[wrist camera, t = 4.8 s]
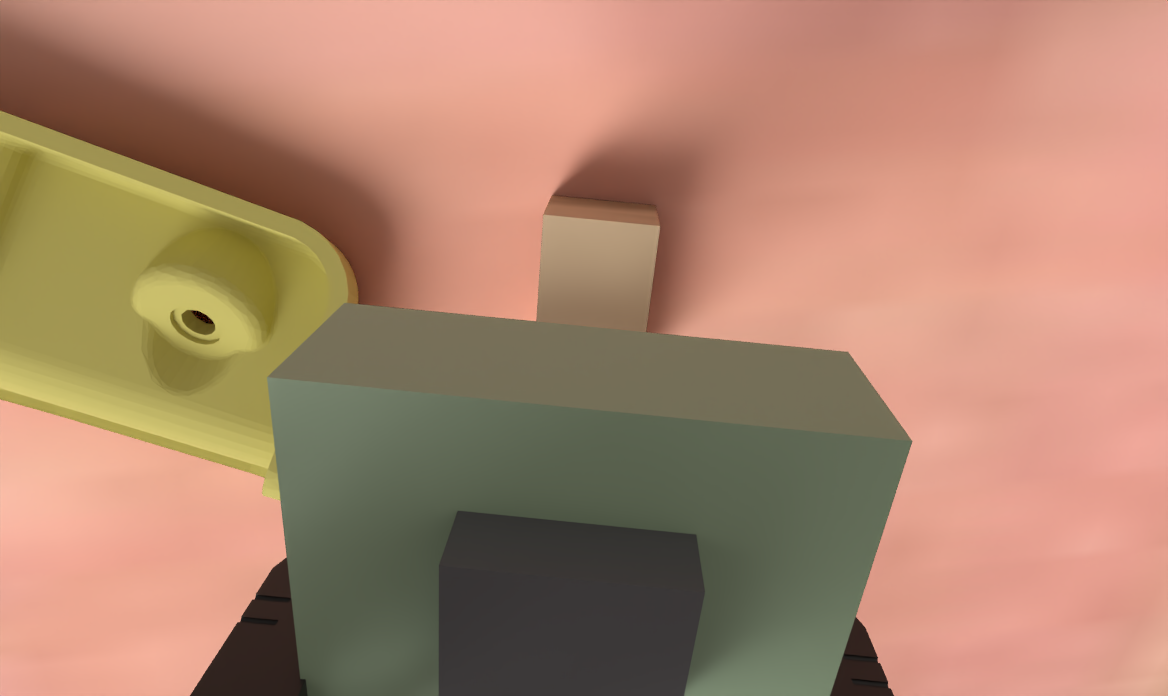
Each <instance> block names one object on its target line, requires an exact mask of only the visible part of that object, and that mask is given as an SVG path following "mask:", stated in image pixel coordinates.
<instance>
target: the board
mask: <svg viewBox="0 0 1168 696" xmlns="http://www.w3.org/2000/svg"><path fill="white" fill-rule="evenodd" d="M267 382H268V391H269V400H270V409H271V418H272V427H273V437H274V446H275V455H276V464H277V473H278V482H279V491H280V500H281V509H282V518H283V527H284V536H285V545H286V554H287V563H288V572H289V581H290V590H291V599H292V608H293V617H294V626H295V635H296V644H297V653H298V662H299V671H300V679H306V686H307V695H308V696H830V694H831V691H832V688H833V685H834V682H835V679H836V676H837V672H838V669H839V666H840V663H841V660H842V657H843V654H844V651H845V648H846V645H847V642H848V638H849V635H850V632H851V629H852V626H853V623H854V620H855V617H856V614H857V611H858V608H859V604H860V601H861V598H862V595H863V592H864V589H865V586H866V583H867V580H868V577H869V574H870V570H871V567H872V564H873V561H874V558H875V555H876V552H877V549H878V546H879V543H880V540H881V536H882V533H883V530H884V527H885V524H886V521H887V518H888V515H889V512H890V509H891V506H892V502H893V499H894V496H895V493H896V490H897V487H898V484H899V481H900V478H901V475H902V472H903V468H904V465H905V462H906V459H907V456H908V453H909V450H910V447H911V444H912V440H911V439H910V437H909V436H908V434H907V433H906V432H905V430H904V429H903V428H902V426H901V425H900V423H899V422H898V421H897V419H896V418H895V416H894V415H893V414H892V412H891V411H890V409H889V408H888V407H887V405H886V404H885V403H884V401H883V400H882V398H881V397H880V396H879V394H878V393H877V391H876V390H875V389H874V387H873V386H872V385H871V383H870V382H869V380H868V379H867V378H866V376H865V375H864V373H863V372H862V371H861V369H860V368H859V366H858V365H857V364H856V362H855V361H854V360H853V358H852V357H851V355H850V354H849V353H848V352H842V351H832V350H822V349H812V348H801V347H791V346H781V345H771V344H761V343H750V342H740V341H730V340H720V339H710V338H699V337H689V336H679V335H669V334H658V333H648V332H638V331H628V330H618V329H607V328H597V327H587V326H577V325H567V324H556V323H546V322H536V321H526V320H516V319H505V318H495V317H485V316H475V315H465V314H454V313H444V312H434V311H424V310H414V309H403V308H393V307H383V306H373V305H362V304H352V303H344V304H343V305H342V306H341V307H339V308H338V309H337V310H336V311H335V312H334V313H333V314H332V315H331V316H330V317H329V318H328V319H327V320H326V321H325V322H324V323H323V324H322V325H321V326H320V327H319V328H318V329H317V330H316V331H315V332H313V333H312V334H311V335H310V336H309V337H308V338H307V339H306V340H305V341H304V342H303V343H302V344H301V345H300V346H299V347H298V348H297V349H296V350H295V351H294V352H293V353H292V354H291V355H290V356H289V357H287V358H286V359H285V360H284V361H283V362H282V363H281V364H280V365H279V366H278V367H277V368H276V369H275V370H274V371H273V372H272V373H271V374H270V375H269V376H268V377H267Z"/></svg>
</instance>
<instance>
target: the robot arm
mask: <svg viewBox="0 0 1168 696" xmlns="http://www.w3.org/2000/svg"><path fill="white" fill-rule="evenodd" d="M877 658H878V657H877V654H876V652H875V650H874V647H873V645H872V642H871V640H870V638H869V635H868V633H867V631H866V628H865V627H864V626H863V625H862V623H861V622H860V621H859V620H858V619H857V618H856V617H855V620H854V623H853V626H852V629H851V632H850V635H849V638H848V642H847V645H846V648H845V651H844V654H843V657H842V660H841V663H840V666H839V669H838V672H837V676H836V679H835V682H834V685H833V688H832V691H831V694H830V696H894V695H893V693H892V690H891V689H890V688H888V681H887V678H886V676H885V674H884V671H883V669H882V666H881V664H880V663H878V661H877ZM190 696H308V695H307V686H306V679H300V671H299V662H298V653H297V644H296V635H295V626H294V617H293V608H292V599H291V590H290V581H289V572H288V563H287V558H285V559H284V560H283V561H281V562H280V563H279V564H278V565H276V566H275V567H274V568H273V569H272V570H271V572H270V573H269V575H268V577H267V578H266V580H265V581H264V583H263V584H262V586H261V587H260V589H259V590H258V592H257V593H256V598H255V600H252V601H251V603H250V604H249V606H248V607H247V609H246V610H245V612H244V613H243V615H242V618H241V621H240V622H238V623H237V624H236V626H235V627H234V629H233V630H232V632H231V633H230V635H229V637H228V638H227V640H226V641H225V643H224V644H223V646H222V647H221V649H220V650H219V652H218V653H217V655H216V657H215V658H214V660H213V661H212V663H211V664H210V666H209V667H208V669H207V670H206V672H205V673H204V675H203V677H202V678H201V680H200V681H199V683H198V684H197V686H196V687H195V689H194V690H193V692H192V693H191V695H190Z"/></svg>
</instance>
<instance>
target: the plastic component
mask: <svg viewBox="0 0 1168 696" xmlns="http://www.w3.org/2000/svg"><path fill="white" fill-rule="evenodd" d="M344 303H352V304H358V287H357V282H356V278H355V275H354V272H353V270H352V268H351V266H350V264H349V262H348V260H347V259H346V258H345V257H344V255H343V254H342V253H341V251H340V250H339V249H338V248H337V247H336V246H335V245H333V244H332V243H331V242H330V241H329V240H327V239H326V238H325V237H324V236H323V235H321V234H320V233H319V232H318V231H316V230H315V229H313V228H311V227H310V226H308V225H307V224H305V223H303V222H302V221H299V220H297V219H294V218H291V217H289V216H286V215H283V214H280V213H278V212H275V211H272V210H269V209H267V208H264V207H261V206H259V205H256V204H253V203H250V202H248V201H245V200H242V199H240V198H237V197H234V196H231V195H229V194H226V193H223V192H221V191H218V190H215V189H212V188H210V187H207V186H204V185H201V184H199V183H196V182H193V181H191V180H188V179H185V178H182V177H180V176H177V175H174V174H172V173H169V172H166V171H163V170H161V169H158V168H155V167H152V166H150V165H147V164H144V163H142V162H139V161H136V160H133V159H131V158H128V157H125V156H123V155H120V154H117V153H114V152H112V151H109V150H106V149H103V148H101V147H98V146H95V145H93V144H90V143H87V142H84V141H82V140H79V139H76V138H74V137H71V136H68V135H65V134H63V133H60V132H57V131H54V130H52V129H49V128H46V127H44V126H41V125H38V124H35V123H33V122H30V121H27V120H25V119H22V118H19V117H16V116H14V115H11V114H8V113H6V112H3V111H0V399H1V400H5V401H8V402H12V403H16V404H19V405H23V406H26V407H30V408H33V409H37V410H40V411H44V412H47V413H51V414H54V415H58V416H62V417H65V418H68V419H72V420H75V421H78V422H82V423H85V424H88V425H92V426H95V427H98V428H102V429H105V430H109V431H112V432H115V433H119V434H122V435H125V436H129V437H132V438H135V439H139V440H142V441H145V442H149V443H152V444H155V445H159V446H162V447H166V448H169V449H172V450H176V451H179V452H182V453H186V454H189V455H192V456H196V457H199V458H202V459H206V460H209V461H212V462H216V463H219V464H223V465H226V466H229V467H233V468H236V469H239V470H243V471H246V472H249V473H252V474H255V475H258V476H261V477H264V478H265V480H264V484H263V491H262V494H263V496H266V497H270V498H273V499H277V500H280V491H279V482H278V473H277V464H276V455H275V446H274V437H273V427H272V418H271V409H270V400H269V391H268V382H267V377H268V376H269V375H270V374H271V373H272V372H273V371H274V370H275V369H276V368H277V367H278V366H279V365H280V364H281V363H282V362H283V361H284V360H285V359H286V358H287V357H289V356H290V355H291V354H292V353H293V352H294V351H295V350H296V349H297V348H298V347H299V346H300V345H301V344H302V343H303V342H304V341H305V340H306V339H307V338H308V337H309V336H310V335H311V334H312V333H313V332H315V331H316V330H317V329H318V328H319V327H320V326H321V325H322V324H323V323H324V322H325V321H326V320H327V319H328V318H329V317H330V316H331V315H332V314H333V313H334V312H335V311H336V310H337V309H338V308H339V307H341V306H342V305H343V304H344ZM191 310H196V311H200V312H202V313H204V314H206V315H207V316H208V317H209V318H210V319H211V320H212V321H213V322H214V324H208V323H205V322H203V321H202V320H200V319H198V318H197V317H196V316H195V315H194V314H193V313H192V312H191ZM280 501H281V500H280Z"/></svg>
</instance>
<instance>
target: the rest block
mask: <svg viewBox="0 0 1168 696" xmlns="http://www.w3.org/2000/svg"><path fill="white" fill-rule="evenodd" d="M659 232H660V223H659V218H658V214H657V209H656V205H646V204H636V203H626V202H616V201H606V200H595V199H585V198H575V197H565V196H554V195H552V196H551V199H550V201H549V203H548V205H547V208H546V210H545V212H544V214H543V228H542V243H541V259H540V274H539V289H538V305H537V320H536V322H546V323H556V324H567V325H577V326H587V327H597V328H607V329H618V330H628V331H638V332H646V329H647V322H648V314H649V307H650V299H651V292H652V284H653V277H654V269H655V262H656V254H657V247H658V239H659Z"/></svg>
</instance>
